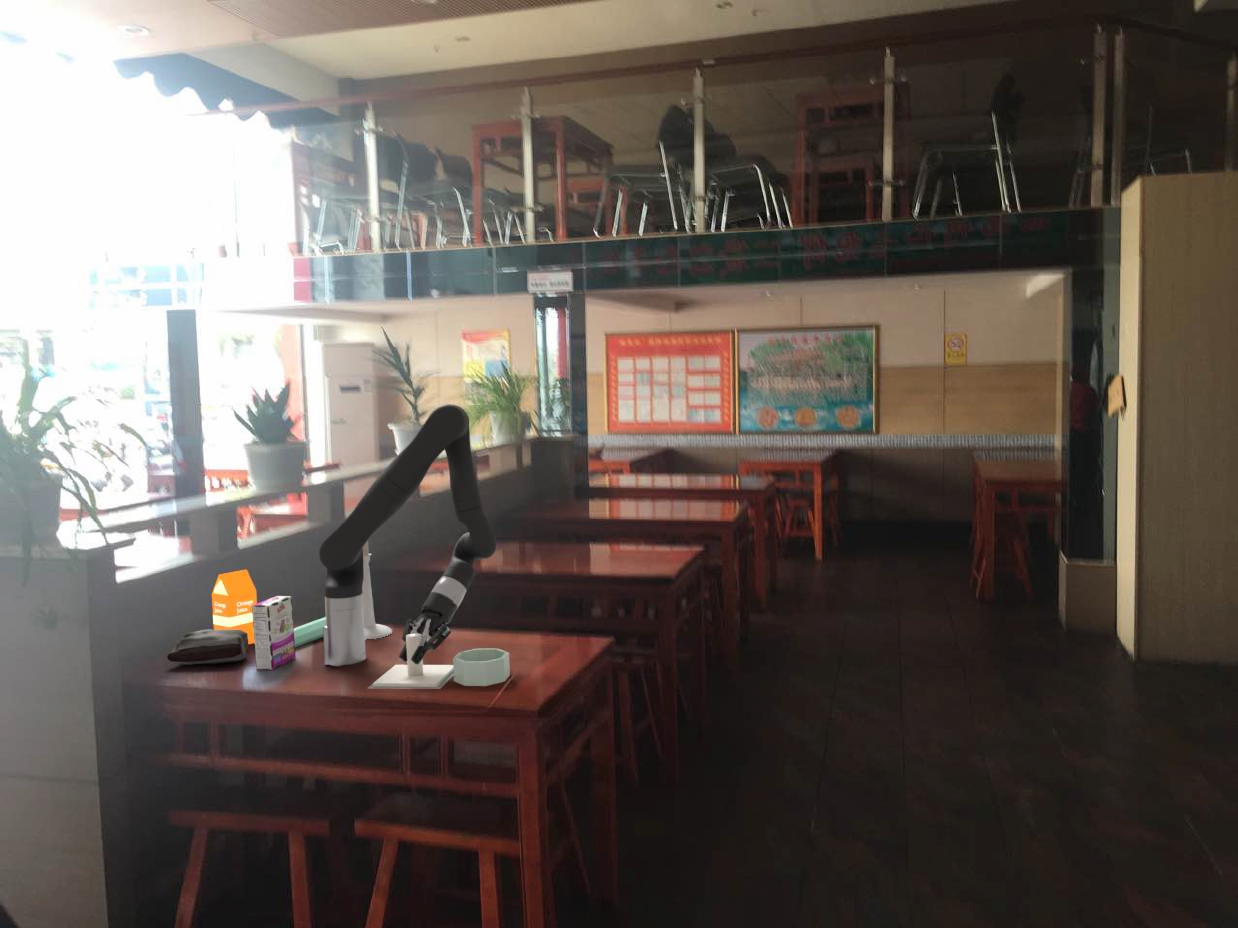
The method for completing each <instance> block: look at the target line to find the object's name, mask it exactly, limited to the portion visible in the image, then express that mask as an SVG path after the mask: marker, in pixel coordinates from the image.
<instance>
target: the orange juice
mask: <svg viewBox="0 0 1238 928" xmlns="http://www.w3.org/2000/svg"><path fill="white" fill-rule="evenodd" d="M211 602H212V603H211V604H212V621H213V622H212V625H213V630H219V629H225V630H243V631H244V632H245V633H247V634H248V645H251V644H255V643H254V629H253V616H252V606H253V605H255V604H258V600H257V589H256V587H255V585H254V583H253V580H252V579H251V576H250V573H249V571H248V570H247V569H241V570H237V571H231V572H225V573H221V574H218V576H217V579H216V581H215V585H214V587H213V590H212V593H211Z"/></svg>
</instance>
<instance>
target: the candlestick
mask: <svg viewBox="0 0 1238 928" xmlns="http://www.w3.org/2000/svg"><path fill="white" fill-rule="evenodd" d="M369 551H370V550H369V539H368V540H367V542H366V543H365V545H364V546H363V567H364V579H363V585H362V594H363V613H364V633H365V641H368V640H367V639H374V640H377V639H376V638H380V639H383V638H382V637H384V638H386V637H385V636H387V637H389V636H391V635H392V634H393V629H391V627H389V626H387V625H385V624H380V623H376V620H375V611H374V599H373V591H372V580H371V572H370V571H371V570H370V565H369V564H370V561H371V558H370V557H371V556H372V553H369ZM390 634H391V635H390ZM388 635H389V636H388Z"/></svg>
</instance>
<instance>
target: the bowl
mask: <svg viewBox="0 0 1238 928" xmlns="http://www.w3.org/2000/svg"><path fill="white" fill-rule="evenodd" d="M452 663H453V664H452V665H453V668H454V675H453V682H455V683H457V684H460V685H462V686H464V687H487V686H491V685H495V684H500V683H503V682H506V681H507V680H508V678H509V677H510V674H511V673H510V672H511V671H510V652H508V651H506V650H503V649H500V648H494V647H493V648H481V647H479V648H473V649H469V650H464V651H459V652H458V653H456V655H455V656H454V657H452Z"/></svg>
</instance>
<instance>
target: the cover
mask: <svg viewBox="0 0 1238 928" xmlns="http://www.w3.org/2000/svg"><path fill="white" fill-rule="evenodd" d="M421 641H422V634H418V633H414V634H408V635H406V643H405V644H406V648H407V661H406V664H394V665H393V667H391V668H390V669H388V670H387V671H386V672H385V673H384V674H382V675H381V676H380V677H378V678H377V679H376V680H375V681H374V682H373V683H372V684H373V687H438V686H439V685H440V684H441V683H442V682H443V681H444V680H445V679H446V677H447V676H448V675H449V674H450V673H451V672H452V671H453V670H454V668H453V664H424V661H423V659H424V657H423V658H422V660H421V661H420V662H419V664H415V663H414V662H413V661H411V658H412V656H413V655H414V653H415V651H416V649H417V648H418V646H420V643H421Z"/></svg>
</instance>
